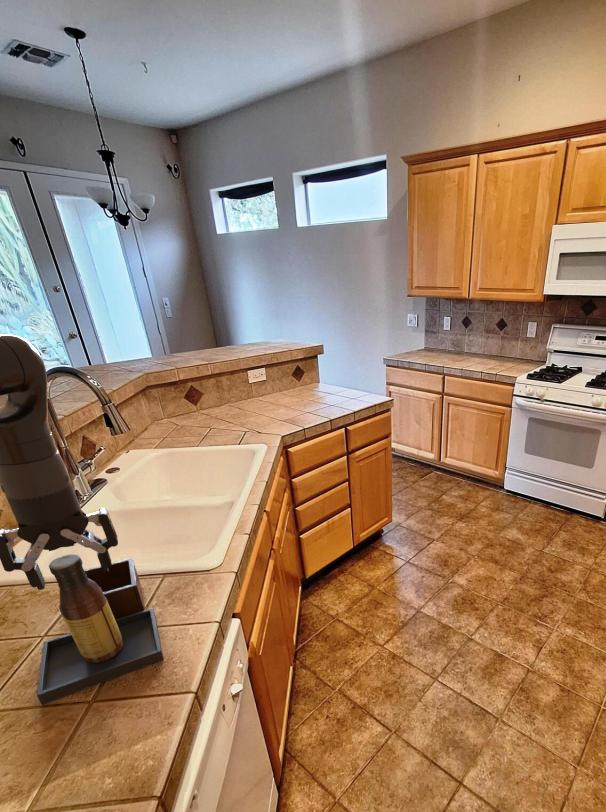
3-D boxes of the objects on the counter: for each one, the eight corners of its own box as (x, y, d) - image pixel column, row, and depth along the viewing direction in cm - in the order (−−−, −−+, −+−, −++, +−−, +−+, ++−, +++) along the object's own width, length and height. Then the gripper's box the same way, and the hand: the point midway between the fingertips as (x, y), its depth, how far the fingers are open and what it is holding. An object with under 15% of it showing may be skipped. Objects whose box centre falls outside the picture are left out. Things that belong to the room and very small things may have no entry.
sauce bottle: (103, 636, 79) (68, 545, 70) (133, 641, 78) (100, 550, 69) (72, 663, 73) (29, 568, 64) (103, 669, 72) (64, 573, 63)
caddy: (84, 632, 81) (73, 603, 78) (85, 599, 89) (74, 572, 86) (145, 613, 86) (136, 585, 83) (140, 584, 94) (132, 557, 91)
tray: (41, 705, 67) (36, 695, 66) (47, 650, 77) (43, 641, 76) (163, 659, 75) (161, 650, 74) (155, 615, 85) (152, 607, 84)
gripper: (97, 467, 67) (124, 554, 75) (-23, 486, 60) (20, 580, 68) (98, 484, 62) (127, 576, 69) (-34, 507, 55) (14, 607, 62)
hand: (74, 578), depth 68 cm, fingers open, 8 cm apart
